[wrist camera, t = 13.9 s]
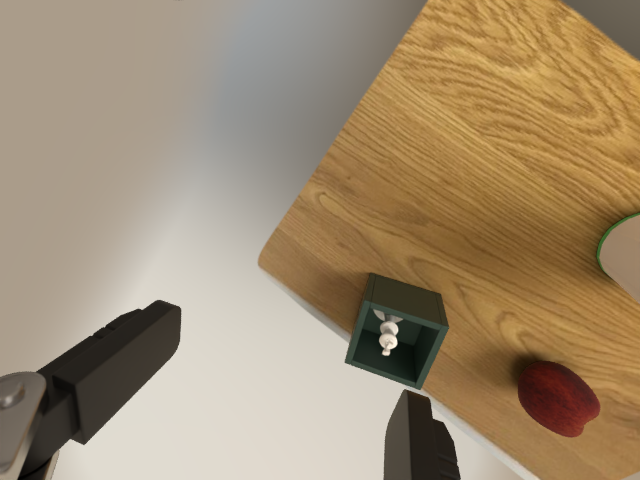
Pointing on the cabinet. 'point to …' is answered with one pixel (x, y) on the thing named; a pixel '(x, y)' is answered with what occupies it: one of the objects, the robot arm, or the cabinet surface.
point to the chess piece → (388, 331)
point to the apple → (557, 398)
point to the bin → (413, 331)
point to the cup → (622, 254)
